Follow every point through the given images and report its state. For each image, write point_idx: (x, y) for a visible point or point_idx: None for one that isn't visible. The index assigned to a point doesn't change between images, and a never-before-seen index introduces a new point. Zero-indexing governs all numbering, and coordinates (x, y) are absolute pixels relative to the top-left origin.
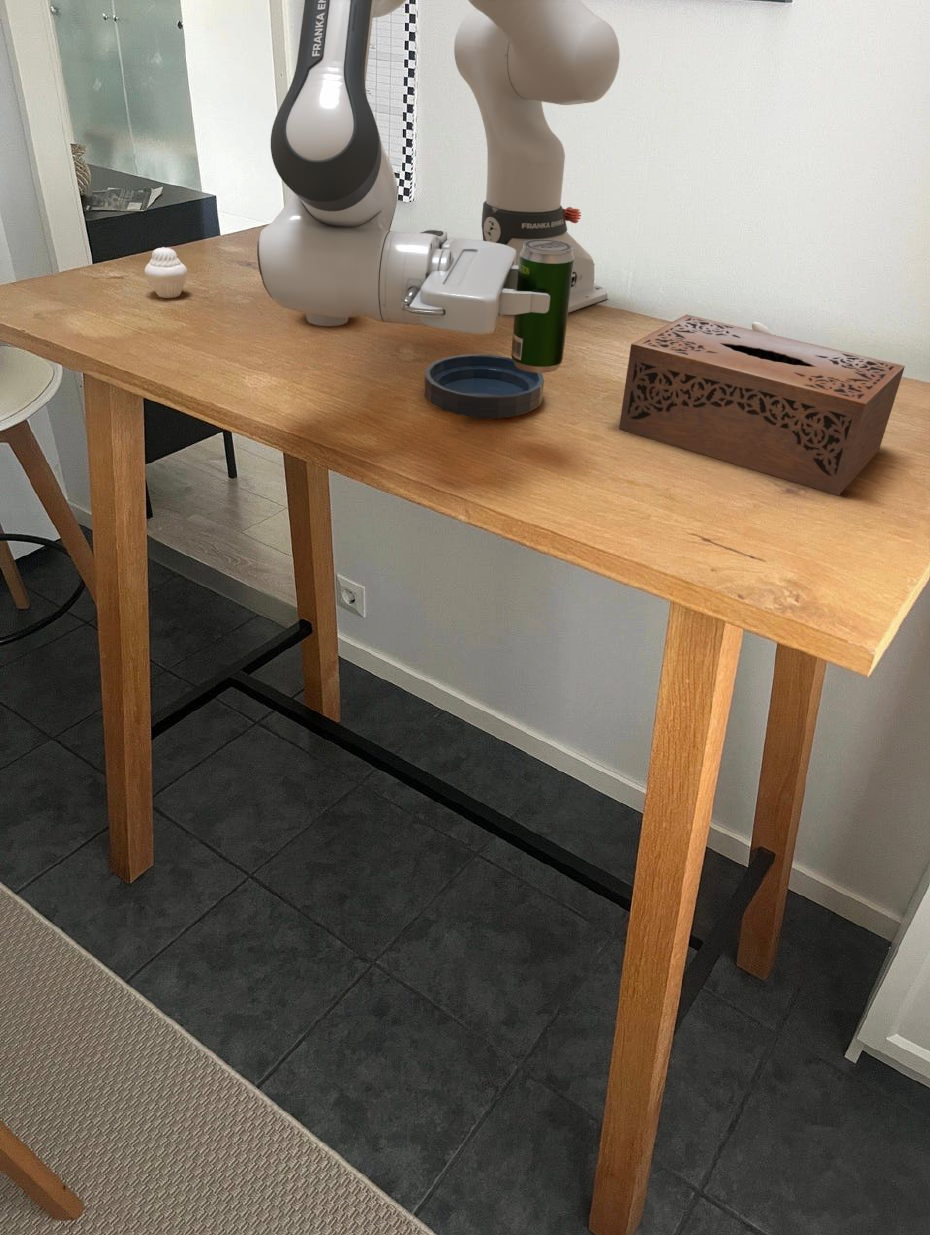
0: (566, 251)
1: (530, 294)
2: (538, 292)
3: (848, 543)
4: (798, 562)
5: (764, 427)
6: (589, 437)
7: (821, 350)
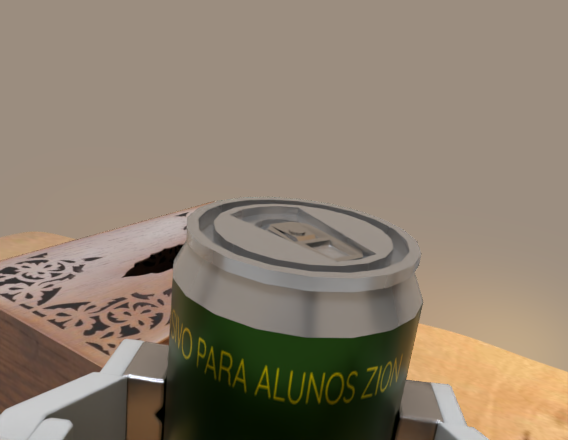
0: (364, 214)
1: (477, 433)
2: (437, 404)
3: (435, 359)
4: (507, 404)
5: None
6: None
7: (163, 223)
